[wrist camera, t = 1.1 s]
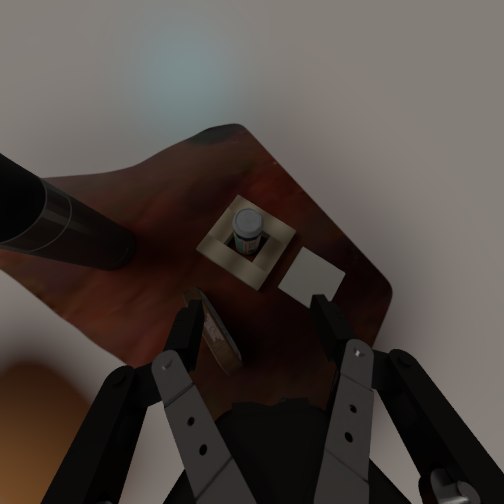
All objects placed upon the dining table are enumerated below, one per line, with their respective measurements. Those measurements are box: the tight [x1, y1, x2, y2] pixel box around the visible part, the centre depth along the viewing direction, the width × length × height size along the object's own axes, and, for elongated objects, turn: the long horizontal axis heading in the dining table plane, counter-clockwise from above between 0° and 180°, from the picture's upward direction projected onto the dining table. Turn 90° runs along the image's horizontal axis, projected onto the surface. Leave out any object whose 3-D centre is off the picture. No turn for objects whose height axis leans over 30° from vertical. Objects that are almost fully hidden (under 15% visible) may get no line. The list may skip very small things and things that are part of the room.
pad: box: [278, 247, 346, 308], centre depth 36 cm, size 10×10×1 cm
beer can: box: [232, 208, 264, 255], centre depth 32 cm, size 5×5×12 cm
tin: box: [183, 286, 243, 376], centre depth 30 cm, size 15×3×8 cm, turn 34°
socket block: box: [196, 195, 296, 291], centre depth 36 cm, size 14×14×3 cm
